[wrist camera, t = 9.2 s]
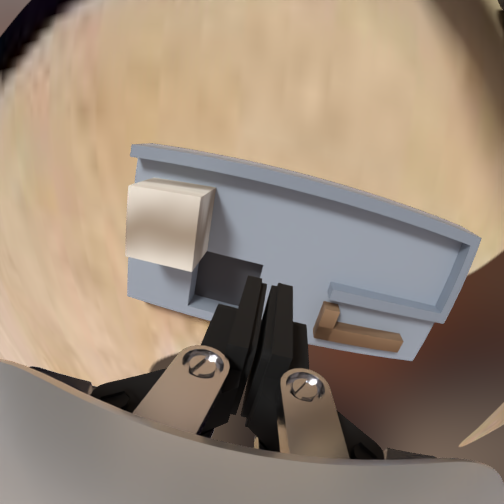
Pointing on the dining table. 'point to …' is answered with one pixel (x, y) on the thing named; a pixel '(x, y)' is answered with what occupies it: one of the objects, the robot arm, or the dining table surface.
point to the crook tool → (352, 332)
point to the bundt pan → (501, 3)
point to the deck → (308, 249)
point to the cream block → (169, 222)
